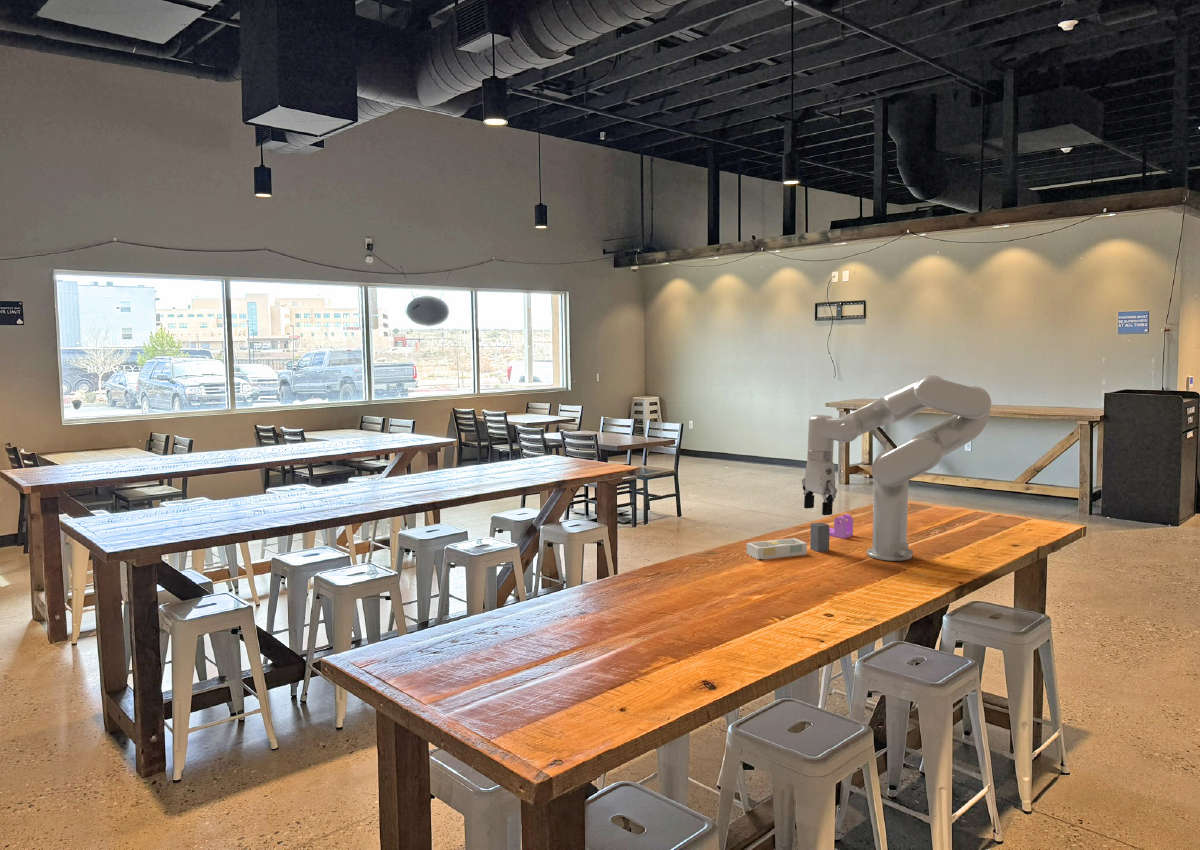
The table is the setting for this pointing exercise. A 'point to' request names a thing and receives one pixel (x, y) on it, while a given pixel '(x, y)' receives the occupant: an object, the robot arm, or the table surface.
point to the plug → (819, 537)
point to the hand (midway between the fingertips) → (817, 511)
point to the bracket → (842, 527)
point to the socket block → (777, 548)
